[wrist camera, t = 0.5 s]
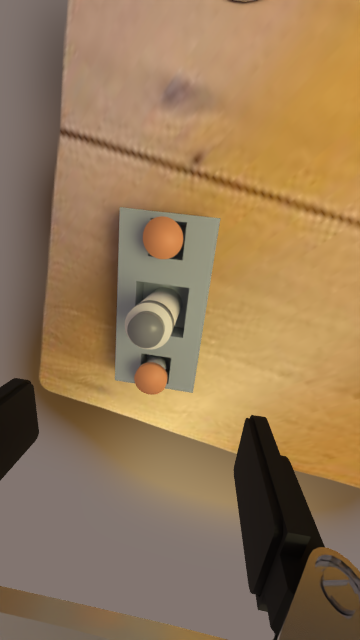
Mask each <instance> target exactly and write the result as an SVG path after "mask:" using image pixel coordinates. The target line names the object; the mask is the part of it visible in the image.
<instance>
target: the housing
mask: <svg viewBox="0 0 360 640" xmlns="http://www.w3.org/2000/svg"><path fill="white" fill-rule="evenodd" d="M160 216H164V217H169V218H171V219H173V220H174V221H175V222H176V223H177V224H178V225H179V226H180V228H181V230H182V233H183V245H182V247H181V249H180V251H179V252H178V253H177V254H176V255H175V256H174V257H172V258H169V259H158V258H155V257H153V256H152V255H150V254H149V253H148V252H147V250H146V248H145V246H144V243H143V232H144V229H145V227H146V225H147V224H148V222H149V221H151V220H152V219H154V218H156V217H160ZM219 223H220V218H211V217H202V216H193V215H185V214H176V213H167V212H158V211H149V210H140V209H131V208H122V207H120V219H119V254H118V289H117V325H116V360H115V380H117V381H123V382H130V383H135V381H134V376H135V373H136V371H137V370H138V368H139V367H140V366H141V365H142V364H144V363H147V361H148V359H149V357H150V356H151V355H155V356H162V357H165V358H166V360H167V367H166V372H167V375H168V379H167V383H166V386H165V388H166V389H172V390H179V391H185V392H191V393H193V388H194V382H195V375H196V369H197V363H198V356H199V350H200V344H201V337H202V331H203V325H204V318H205V312H206V306H207V299H208V293H209V287H210V280H211V274H212V268H213V261H214V255H215V249H216V242H217V236H218V230H219ZM161 287H168V288H171V289H173V290H175V291H176V292H177V293H178V294H179V296H180V298H181V301H182V306H181V310H180V313H179V315H178V318H177V320H176V323H175V325H174V328H173V331H172V334H171V336H170V338H169V339H168V341H167V342H166V343H165V344H164V345H163V346H161V347H159V348H157V349H143V348H140V347H138V346H136V345H135V344H134V343H132V342H131V341H130V339H129V338H128V336H127V334H126V331H125V319H126V316H127V314H128V313H129V312H130V311H131V309H132V308H133V307H135V306H136V305H137V304H138V303H140V302H141V301H143V300H144V299H145V298H146V297H148V296H149V295H150V294H151V293H152V292H154V291H155V290H156V289H158V288H161Z"/></svg>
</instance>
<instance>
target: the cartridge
mask: <svg viewBox="0 0 360 640" xmlns="http://www.w3.org/2000/svg"><path fill="white" fill-rule="evenodd" d="M181 306H182V301H181V298H180V296H179V294H178V293H177V292H176V291H175V290H173V289H171V288H168V287H161V288H158V289H156V290H155V291H154V292H152V293H151V294H150V295H149V296H148V297H146V298H145V299H144V300H143V301H141V302H140V303H138V304H137V305H136V306H135V307H133V308H132V309H131V311H130V312H129V313H128V314H127V316H126V319H125V331H126V334H127V336H128V338H129V339H130V341H131V342H132V343H134V344H135V345H136V346H138V347H140V348H143V349H157V348H159V347H161V346H163V345H164V344H165V343H166V342H167V341H168V339H169V338H170V336H171V334H172V331H173V328H174V325H175V323H176V320H177V318H178V315H179V313H180V310H181Z"/></svg>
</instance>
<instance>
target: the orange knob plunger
mask: <svg viewBox="0 0 360 640" xmlns="http://www.w3.org/2000/svg"><path fill="white" fill-rule="evenodd" d="M166 367H167V360H166V358H165V357H162V356H155V355H151V356H150V357H149V359H148V361H147V363H144V364H142V365H141V366H140V367H139V368H138V370H137V371H136V373H135V376H134V381H135V384H136V386H137V387H138V389H139V390H141V391H142V392H144V393H146V394H158V393H160V392H161V391H163V390H164V388H165V386H166V383H167V379H168V375H167V372H166Z"/></svg>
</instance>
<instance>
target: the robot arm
mask: <svg viewBox="0 0 360 640" xmlns="http://www.w3.org/2000/svg"><path fill="white" fill-rule="evenodd" d="M235 1H244V2H247V1H254V0H235ZM38 434H39V429H38V421H37V411H36V403H35V394H34V387H33V385H32V384H31V382H30V381H29V380H24V379H18V378H14V379H12V380H10V381H9V382H8V383H6V384H5V385H3V386H2V387H0V480H1V479H2V478H3V477H4V476H5V475H6V473H7V472H8V471H9V470H10V469H11V468H12V467H13V465H14V464H15V463H16V462H17V461H18V460H19V459H20V458H21V456H22V455H23V454H24V453H25V452H26V451H27V450H28V449H29V447H30V446H31V445H32V444H33V443H34V442H35V440H36V439H37V437H38ZM234 479H235V487H236V494H237V501H238V509H239V516H240V524H241V531H242V539H243V546H244V554H245V561H246V569H247V576H248V584H249V589H250V592H251V593H252V594H256V600H257V607H258V610H262V611H266V612H268V615H269V620H270V627H271V628H272V630H273V631H274V633H275V634H274V637H273V639H272V640H360V572H359V570H358V569H357V568H356V567H355V566H354V565H353V564H352V563H351V562H350V561H349V560H348V559H347V558H345V557H344V556H342V555H341V554H340V553H338V552H336V551H334V550H332V549H329V548H325V546H324V544H323V542H322V539H321V537H320V534H319V532H318V529H317V527H316V524H315V522H314V519H313V517H312V515H311V512H310V510H309V507H308V505H307V502H306V500H305V497H304V495H303V492H302V490H301V487H300V485H299V483H298V480H297V478H296V475H295V473H294V470H293V468H292V465H291V463H290V461H289V459H288V458H287V457H286V456H281V455H280V453H279V450H278V447H277V445H276V442H275V439H274V437H273V434H272V431H271V429H270V426H269V423H268V421H267V419H266V417H261V416H254V415H251V417H250V419H249V418H246V420H245V423H244V428H243V432H242V436H241V440H240V444H239V448H238V452H237V457H236V461H235V465H234ZM0 640H227V639H223V638H219V637H215V636H211V635H207V634H204V633H200V632H196V631H192V630H188V629H184V628H180V627H177V626H172V625H169V624H164V623H160V622H156V621H152V620H147V619H143V618H139V617H134V616H130V615H126V614H121V613H117V612H113V611H108V610H104V609H100V608H96V607H91V606H87V605H83V604H78V603H74V602H69V601H65V600H60V599H56V598H51V597H47V596H43V595H38V594H34V593H29V592H25V591H20V590H16V589H11V588H7V587H2V586H0Z"/></svg>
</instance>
